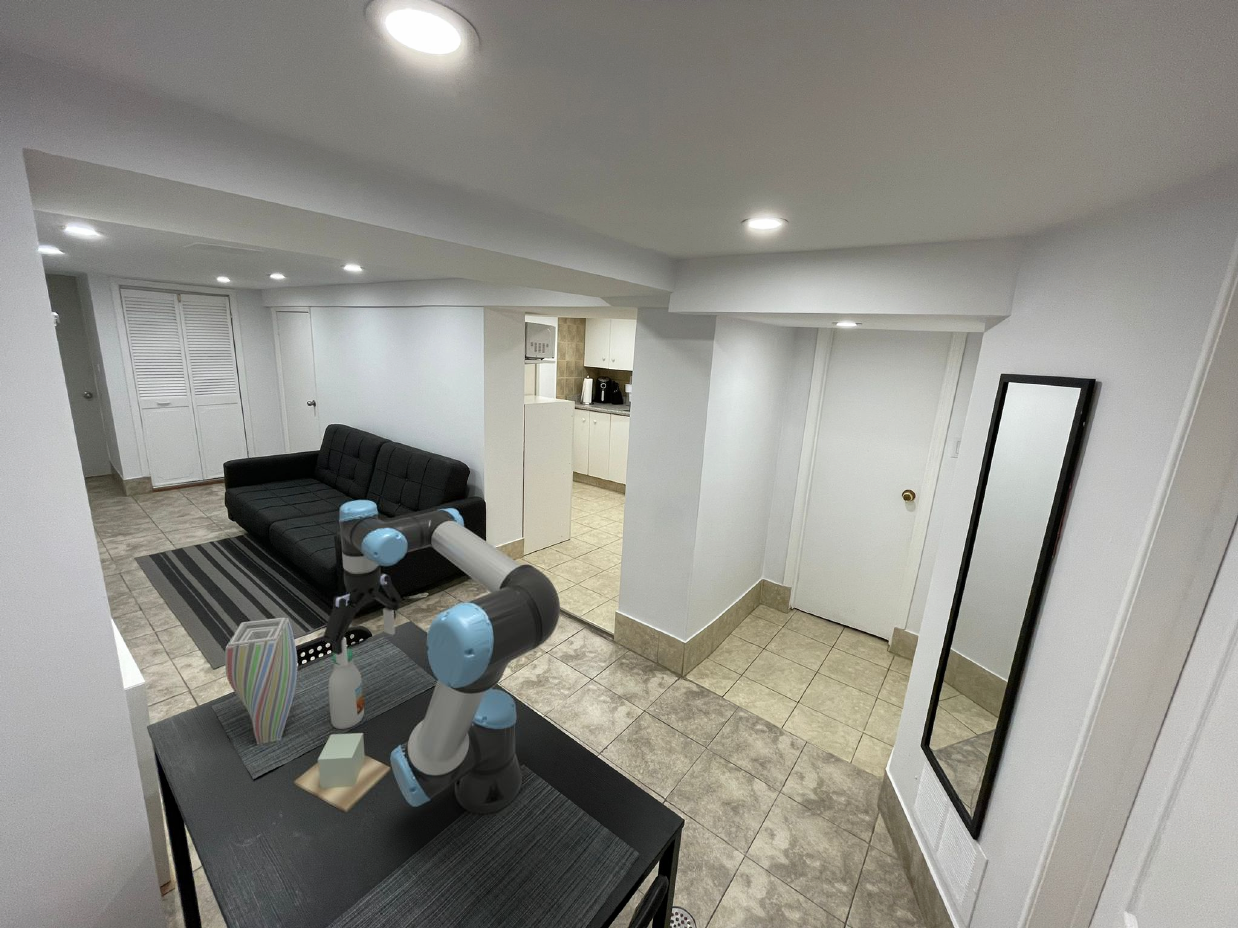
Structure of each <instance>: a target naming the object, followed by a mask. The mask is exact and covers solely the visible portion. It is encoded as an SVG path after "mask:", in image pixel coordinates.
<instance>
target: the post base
mask: <svg viewBox="0 0 1238 928" xmlns="http://www.w3.org/2000/svg"><path fill="white" fill-rule="evenodd" d="M390 771H391V767H390V766H388V765H386V764H384V763H382V762H380V761H378V760H376V759H373V758H372V757H370V756H367V755H366V754H365V762H364V764H363V766H362V769H361V771H360V774H359V776H358V778H357V781H356V783H355V786H353V787H337V788H321V786H320V776H319V766H318V761H317V762H316V763H315V764H314V765H312V766H311V767H310V768H308V769H307V770H306V771H305V772H304V773H303V774H301V775H300V776H299V777H298V778H297V779H296V780H294V781H293V782H294V785H295V786H297V787H298V788H300V789H302V790H304V791H306V792H308V793H310V794H312V795H313V796H314V797H317V798H319V799H320V800H322V801H325V802H326V803H327V804H329V805H331V806H333V807H335V808H336V809H338V810H340V811H342V812H343V813H346V814H347V813H348V812H349V811H350V810H351V809H352V808H353V807H354V806H355V805H356V804H357V803H358V802H359V801H360V800H361V799H362V798H363V797H364V796H366V794H368V793H369V791H370V790H372V789H373V788H374V787H375V786H376V785H377V784H378V783H379V782H380V781H381V780H382V779H383V778H384V777H385V776H386V775H387V774H388V773H389V772H390Z"/></svg>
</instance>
